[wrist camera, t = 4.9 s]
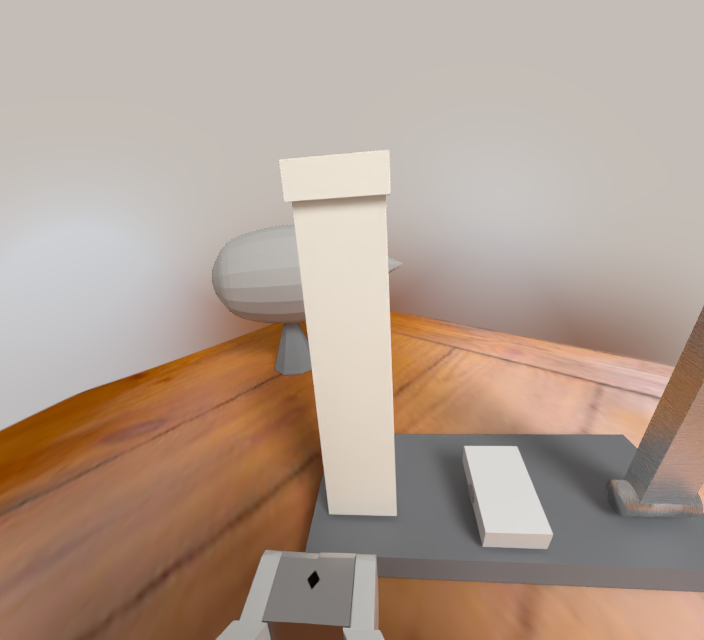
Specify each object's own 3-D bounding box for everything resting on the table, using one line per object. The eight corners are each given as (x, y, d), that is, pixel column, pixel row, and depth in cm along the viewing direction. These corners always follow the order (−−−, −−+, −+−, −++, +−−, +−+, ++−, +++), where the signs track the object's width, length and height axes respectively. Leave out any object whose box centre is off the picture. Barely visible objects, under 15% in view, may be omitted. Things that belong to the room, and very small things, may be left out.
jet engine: (365, 410, 33) (353, 226, 28) (214, 380, 41) (180, 233, 36) (406, 350, 46) (404, 215, 40) (284, 336, 54) (268, 223, 48)
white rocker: (549, 549, 17) (555, 534, 17) (480, 546, 18) (483, 532, 17) (515, 460, 22) (518, 446, 21) (460, 460, 22) (462, 445, 21)
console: (754, 594, 16) (764, 572, 16) (307, 573, 19) (304, 554, 18) (619, 451, 26) (622, 434, 25) (333, 449, 28) (331, 434, 28)
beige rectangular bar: (400, 523, 19) (389, 149, 13) (324, 520, 20) (278, 159, 14) (399, 489, 22) (388, 157, 15) (330, 488, 22) (294, 165, 16)
